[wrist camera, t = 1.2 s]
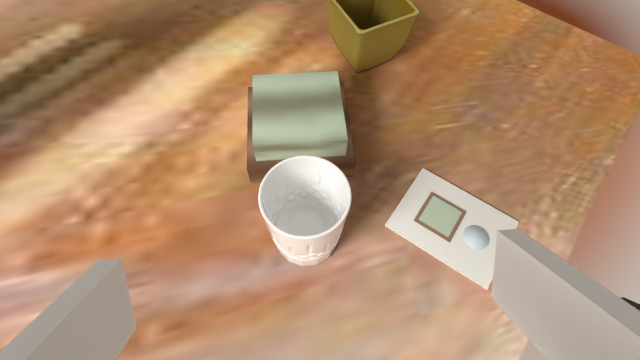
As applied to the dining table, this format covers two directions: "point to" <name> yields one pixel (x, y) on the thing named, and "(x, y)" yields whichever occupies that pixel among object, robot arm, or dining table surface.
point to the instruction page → (451, 226)
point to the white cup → (305, 207)
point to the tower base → (297, 121)
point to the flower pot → (370, 29)
